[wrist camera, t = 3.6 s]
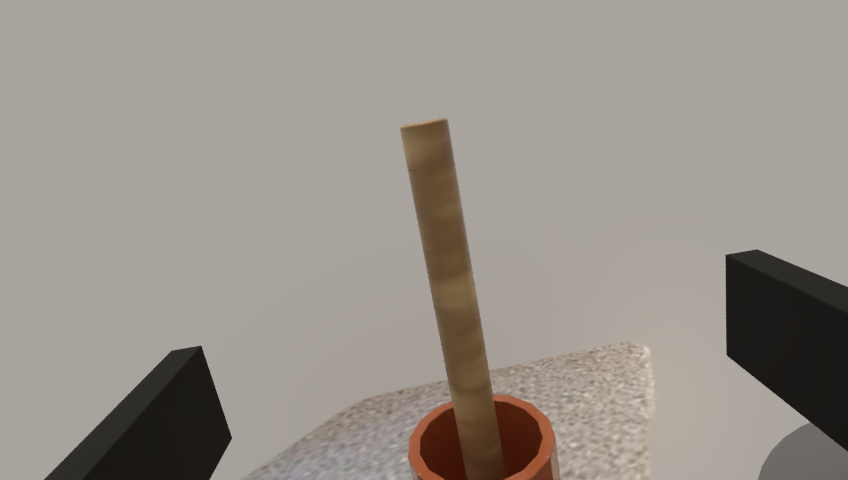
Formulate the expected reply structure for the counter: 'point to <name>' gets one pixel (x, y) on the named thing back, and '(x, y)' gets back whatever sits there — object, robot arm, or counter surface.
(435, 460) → the utensil cup
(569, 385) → the counter surface
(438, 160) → the stirring stick
